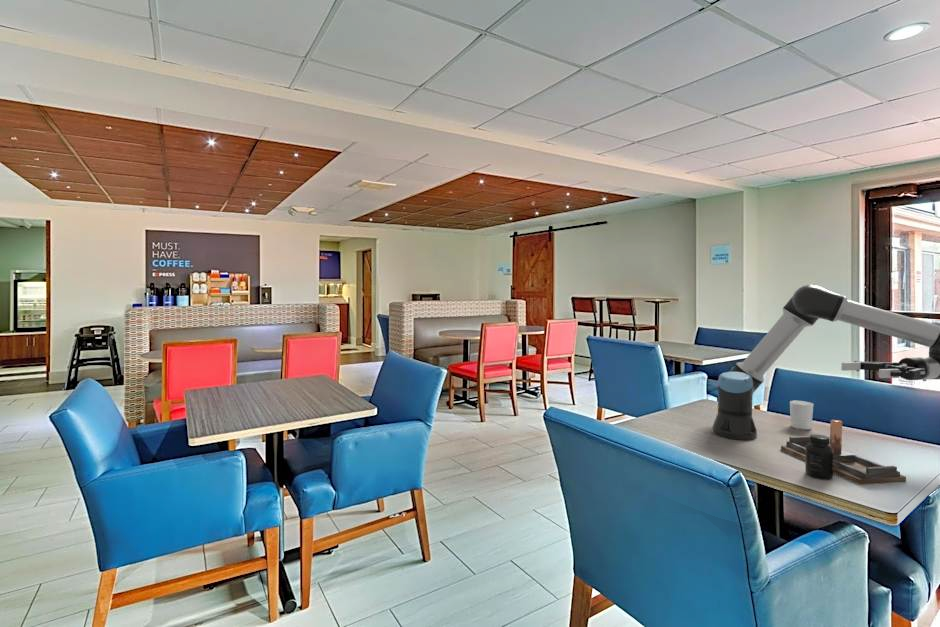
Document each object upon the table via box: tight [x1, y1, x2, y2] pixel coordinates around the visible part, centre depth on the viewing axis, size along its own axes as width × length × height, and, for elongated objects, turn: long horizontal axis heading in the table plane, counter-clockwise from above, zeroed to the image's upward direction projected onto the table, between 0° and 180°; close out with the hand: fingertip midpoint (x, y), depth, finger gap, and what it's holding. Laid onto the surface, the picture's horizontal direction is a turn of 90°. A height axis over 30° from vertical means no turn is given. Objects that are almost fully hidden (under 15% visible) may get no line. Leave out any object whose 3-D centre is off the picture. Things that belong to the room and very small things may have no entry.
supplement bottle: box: [804, 434, 834, 480], centre depth 145 cm, size 7×7×12 cm
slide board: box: [780, 435, 907, 485], centre depth 154 cm, size 30×15×4 cm, turn 6°
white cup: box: [789, 400, 814, 430], centre depth 195 cm, size 8×8×10 cm
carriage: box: [829, 419, 856, 462], centre depth 155 cm, size 7×7×12 cm
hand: (860, 369), depth 160 cm, fingers open, 13 cm apart
